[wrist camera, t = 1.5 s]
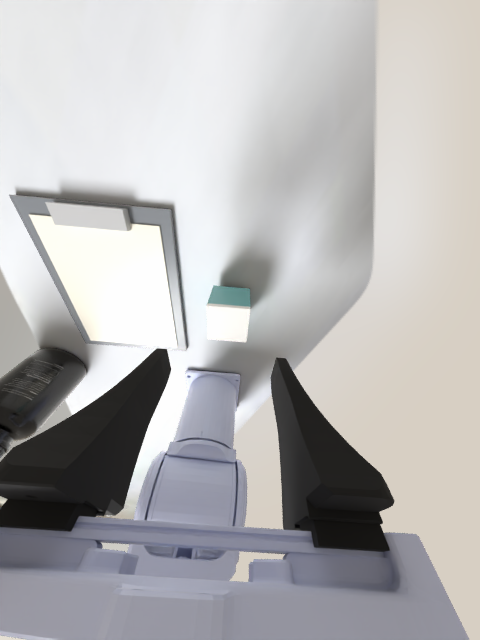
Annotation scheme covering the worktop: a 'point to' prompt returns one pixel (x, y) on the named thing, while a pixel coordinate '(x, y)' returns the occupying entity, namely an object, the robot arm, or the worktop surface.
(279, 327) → the worktop surface
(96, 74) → the worktop surface
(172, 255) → the clipboard
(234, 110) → the worktop surface
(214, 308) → the teal-topped white block
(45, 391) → the supplement bottle
